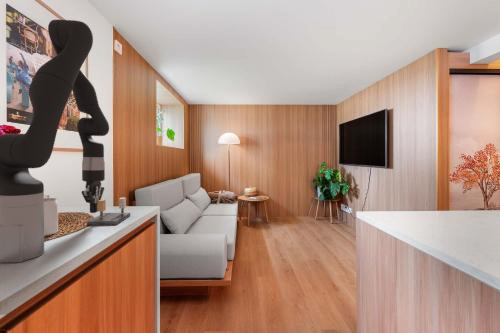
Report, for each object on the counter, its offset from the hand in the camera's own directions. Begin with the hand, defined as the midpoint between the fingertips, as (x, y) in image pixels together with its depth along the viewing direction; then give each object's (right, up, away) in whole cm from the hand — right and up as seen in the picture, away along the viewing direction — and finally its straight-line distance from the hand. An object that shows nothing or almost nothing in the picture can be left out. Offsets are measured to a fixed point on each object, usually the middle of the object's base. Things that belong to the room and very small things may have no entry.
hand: (93, 212), depth 98 cm
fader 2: (+5, -3, +13) cm, 14 cm away
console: (+2, -5, +8) cm, 10 cm away
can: (-9, -6, -11) cm, 16 cm away
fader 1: (-1, -3, +7) cm, 7 cm away
